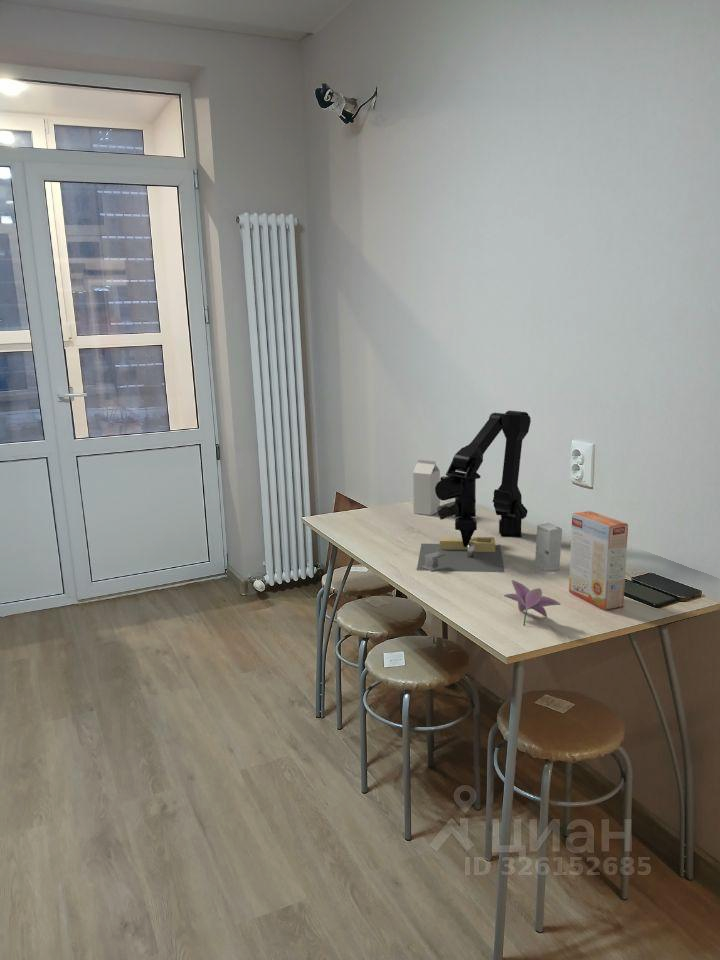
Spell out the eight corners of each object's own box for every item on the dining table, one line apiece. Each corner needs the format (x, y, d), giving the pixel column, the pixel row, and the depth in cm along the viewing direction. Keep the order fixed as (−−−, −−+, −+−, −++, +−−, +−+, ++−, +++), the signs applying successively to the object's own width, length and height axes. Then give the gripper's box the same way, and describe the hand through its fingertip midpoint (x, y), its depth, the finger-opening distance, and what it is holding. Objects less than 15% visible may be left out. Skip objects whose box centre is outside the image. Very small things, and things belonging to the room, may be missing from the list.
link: (494, 545, 229) (494, 537, 228) (495, 551, 222) (495, 543, 222) (440, 544, 231) (440, 536, 230) (439, 550, 225) (439, 542, 224)
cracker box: (625, 607, 180) (629, 523, 175) (604, 611, 177) (608, 526, 173) (587, 588, 192) (591, 509, 188) (567, 592, 190) (571, 512, 186)
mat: (500, 545, 229) (500, 544, 229) (504, 573, 205) (504, 572, 205) (421, 544, 232) (421, 543, 232) (416, 571, 208) (416, 570, 208)
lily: (564, 631, 169) (568, 589, 172) (527, 622, 164) (531, 578, 166) (526, 630, 179) (529, 590, 182) (489, 621, 173) (494, 580, 176)
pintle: (474, 555, 220) (474, 544, 219) (474, 557, 218) (474, 546, 217) (467, 555, 220) (467, 544, 219) (467, 557, 218) (467, 546, 217)
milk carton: (430, 515, 265) (430, 463, 261) (413, 513, 269) (412, 461, 265) (440, 511, 271) (440, 459, 267) (422, 508, 275) (422, 457, 271)
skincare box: (534, 566, 210) (535, 524, 208) (547, 563, 212) (548, 522, 209) (547, 572, 205) (549, 529, 202) (561, 570, 206) (562, 527, 204)
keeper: (431, 571, 207) (431, 558, 206) (421, 567, 210) (421, 555, 209) (446, 567, 210) (446, 554, 209) (435, 563, 213) (435, 550, 213)
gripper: (439, 487, 233) (439, 535, 237) (437, 502, 215) (437, 554, 218) (475, 487, 232) (475, 536, 235) (477, 502, 214) (476, 554, 217)
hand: (465, 544), depth 226 cm, fingers closed on link, 3 cm apart
